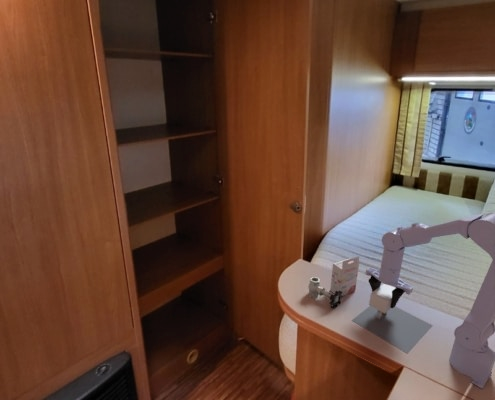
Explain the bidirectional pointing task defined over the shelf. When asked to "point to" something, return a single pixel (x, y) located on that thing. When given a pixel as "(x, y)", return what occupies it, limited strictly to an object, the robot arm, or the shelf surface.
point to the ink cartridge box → (344, 276)
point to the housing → (382, 298)
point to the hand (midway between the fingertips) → (384, 302)
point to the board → (394, 326)
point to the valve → (323, 292)
